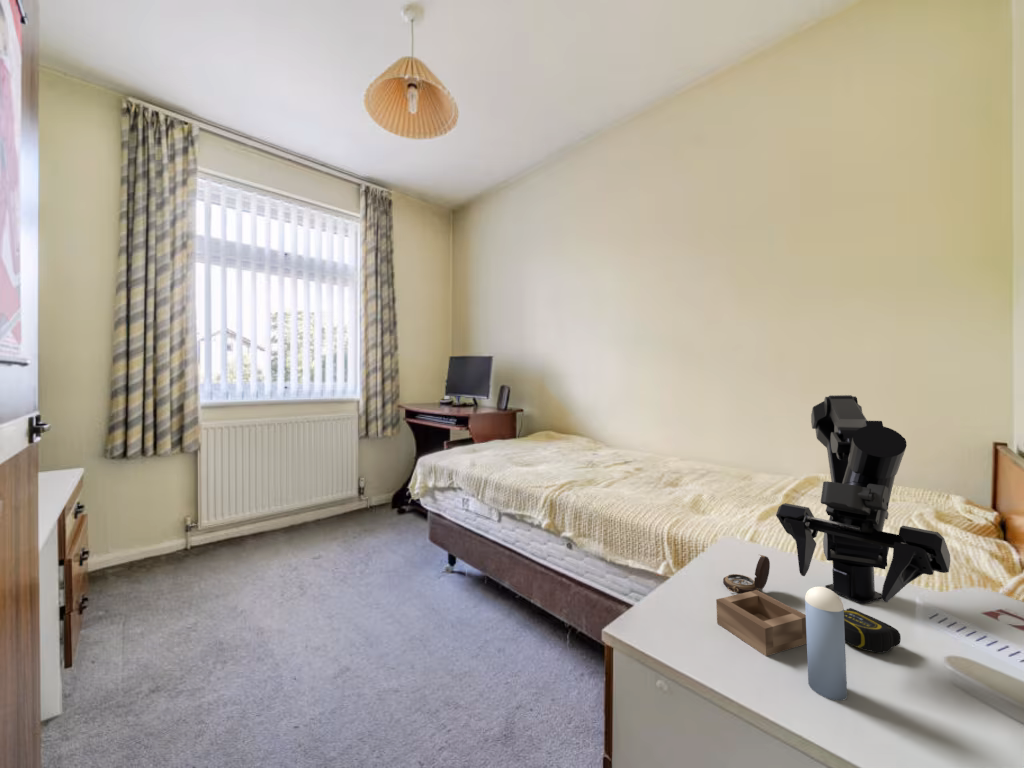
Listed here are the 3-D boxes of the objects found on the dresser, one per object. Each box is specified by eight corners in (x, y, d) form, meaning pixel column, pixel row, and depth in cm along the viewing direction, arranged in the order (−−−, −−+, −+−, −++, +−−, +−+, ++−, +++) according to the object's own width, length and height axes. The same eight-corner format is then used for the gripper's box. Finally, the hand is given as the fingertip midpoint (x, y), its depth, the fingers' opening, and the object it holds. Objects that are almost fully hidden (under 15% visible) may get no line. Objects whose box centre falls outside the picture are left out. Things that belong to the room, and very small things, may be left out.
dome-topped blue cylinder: (822, 675, 55) (818, 579, 55) (854, 695, 51) (850, 592, 52) (801, 682, 54) (797, 584, 54) (833, 704, 50) (828, 598, 50)
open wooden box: (757, 612, 71) (756, 589, 71) (809, 642, 62) (808, 616, 62) (717, 623, 68) (716, 599, 68) (766, 656, 59) (765, 628, 59)
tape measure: (904, 652, 60) (903, 626, 60) (873, 662, 58) (872, 636, 58) (853, 627, 66) (852, 604, 66) (823, 635, 64) (822, 611, 64)
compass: (729, 576, 85) (728, 541, 85) (772, 589, 79) (771, 552, 79) (713, 589, 79) (712, 552, 79) (759, 605, 73) (757, 564, 74)
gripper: (779, 453, 67) (747, 534, 61) (940, 470, 52) (921, 581, 45) (801, 494, 71) (774, 574, 65) (957, 520, 56) (941, 628, 49)
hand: (840, 586), depth 56 cm, fingers open, 9 cm apart
